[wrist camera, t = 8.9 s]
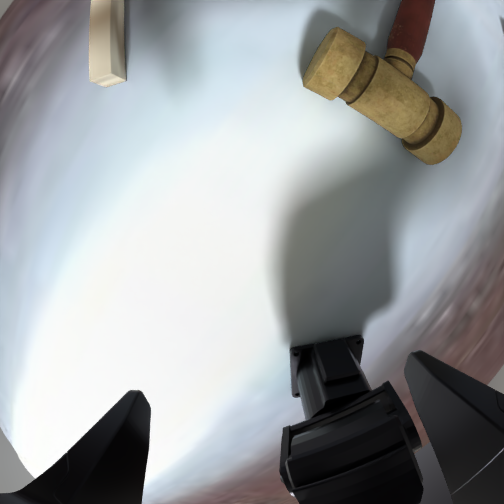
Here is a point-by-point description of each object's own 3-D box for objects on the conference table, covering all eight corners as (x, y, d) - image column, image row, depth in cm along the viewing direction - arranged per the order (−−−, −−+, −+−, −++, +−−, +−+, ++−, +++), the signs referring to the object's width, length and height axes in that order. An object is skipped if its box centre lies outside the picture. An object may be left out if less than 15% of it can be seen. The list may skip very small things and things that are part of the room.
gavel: (391, -79, 6) (481, -11, 8) (372, -56, 10) (455, 2, 12) (314, 72, 11) (452, 168, 13) (294, 93, 16) (412, 164, 17)
